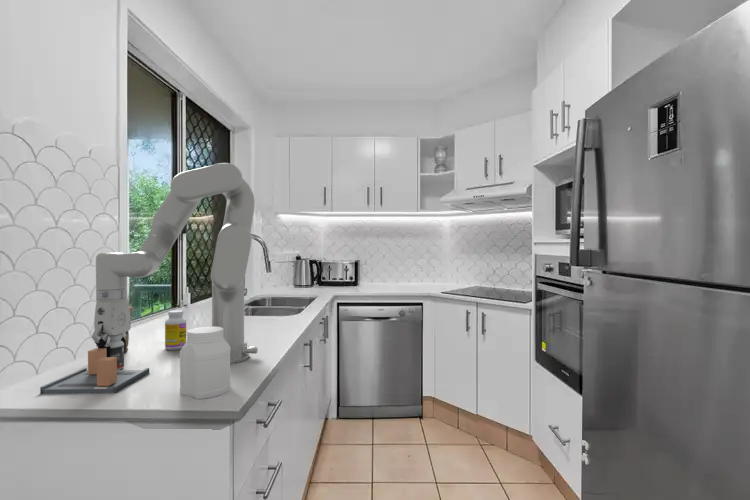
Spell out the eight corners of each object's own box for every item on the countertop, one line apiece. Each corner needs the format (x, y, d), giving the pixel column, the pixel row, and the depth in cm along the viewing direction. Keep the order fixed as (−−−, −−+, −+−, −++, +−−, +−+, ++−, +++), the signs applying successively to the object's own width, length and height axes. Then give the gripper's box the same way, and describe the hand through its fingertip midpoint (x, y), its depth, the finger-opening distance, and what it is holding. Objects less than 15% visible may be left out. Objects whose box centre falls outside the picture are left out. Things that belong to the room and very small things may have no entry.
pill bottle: (99, 373, 114) (99, 337, 114) (102, 367, 119) (101, 334, 119) (123, 370, 116) (123, 335, 116) (125, 365, 121) (124, 332, 121)
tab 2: (116, 381, 103) (116, 357, 103) (109, 385, 100) (109, 360, 100) (104, 381, 103) (104, 357, 102) (96, 385, 100) (96, 360, 99)
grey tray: (149, 373, 113) (149, 367, 113) (115, 393, 98) (115, 386, 98) (83, 374, 113) (83, 368, 113) (40, 393, 98) (40, 387, 98)
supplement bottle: (180, 350, 138) (180, 312, 138) (161, 350, 138) (160, 312, 138) (189, 345, 145) (189, 309, 145) (171, 345, 145) (171, 309, 145)
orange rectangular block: (106, 370, 111) (106, 348, 111) (99, 374, 108) (99, 351, 108) (95, 370, 111) (95, 348, 111) (88, 374, 108) (87, 351, 108)
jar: (173, 392, 99) (172, 330, 99) (206, 381, 107) (206, 324, 107) (204, 401, 93) (204, 336, 93) (237, 388, 101) (237, 328, 101)
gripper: (105, 299, 109) (106, 365, 109) (141, 291, 126) (142, 349, 126) (77, 299, 108) (77, 366, 109) (117, 291, 126) (117, 349, 126)
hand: (112, 356), depth 117 cm, fingers open, 6 cm apart
